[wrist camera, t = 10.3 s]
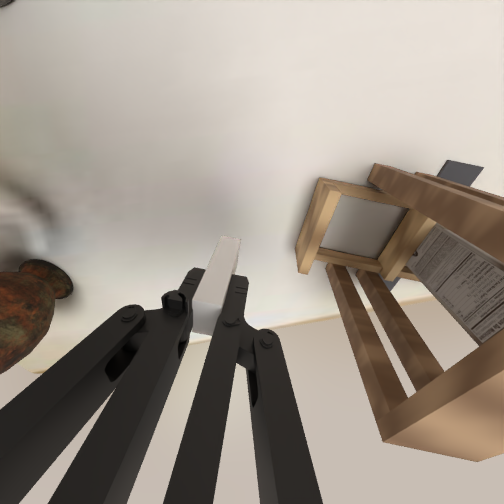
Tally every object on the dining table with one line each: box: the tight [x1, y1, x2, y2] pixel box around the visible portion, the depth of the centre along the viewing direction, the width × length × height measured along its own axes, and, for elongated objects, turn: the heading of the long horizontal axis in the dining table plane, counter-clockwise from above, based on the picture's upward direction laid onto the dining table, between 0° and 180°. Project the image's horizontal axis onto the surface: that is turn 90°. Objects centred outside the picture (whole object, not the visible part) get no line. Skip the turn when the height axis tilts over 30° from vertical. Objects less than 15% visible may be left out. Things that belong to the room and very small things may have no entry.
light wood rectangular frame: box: [295, 178, 437, 282], centre depth 25 cm, size 11×26×6 cm, turn 80°
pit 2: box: [437, 160, 484, 187], centre depth 24 cm, size 4×4×1 cm
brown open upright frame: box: [325, 163, 504, 462], centre depth 19 cm, size 16×7×21 cm, turn 170°
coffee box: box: [405, 223, 504, 346], centre depth 21 cm, size 9×6×16 cm
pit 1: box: [378, 273, 400, 291], centre depth 32 cm, size 4×4×1 cm
